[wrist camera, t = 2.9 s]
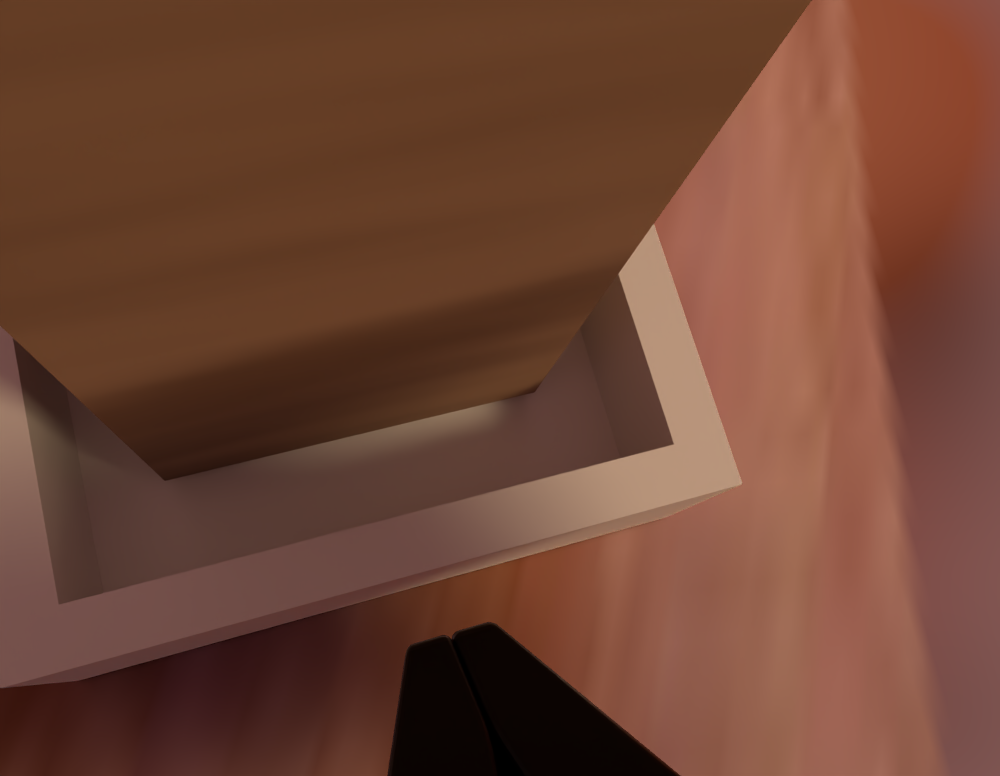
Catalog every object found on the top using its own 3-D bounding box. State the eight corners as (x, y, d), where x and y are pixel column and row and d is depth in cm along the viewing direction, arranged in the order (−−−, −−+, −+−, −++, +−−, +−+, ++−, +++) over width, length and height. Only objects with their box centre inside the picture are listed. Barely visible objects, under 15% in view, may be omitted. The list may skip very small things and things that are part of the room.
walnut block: (534, 392, 16) (894, -118, 5) (164, 480, 15) (-304, 38, 4) (456, 128, 17) (629, -719, 6) (105, 189, 16) (-383, -744, 5)
